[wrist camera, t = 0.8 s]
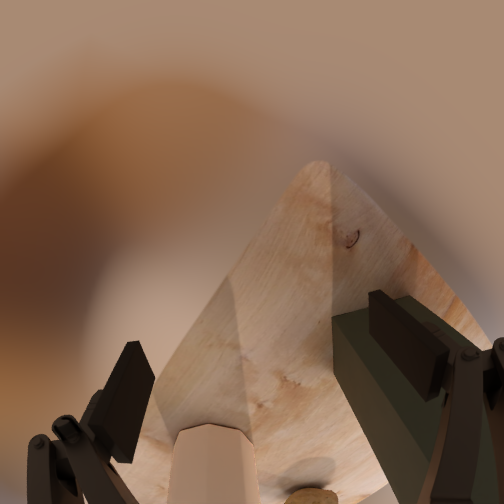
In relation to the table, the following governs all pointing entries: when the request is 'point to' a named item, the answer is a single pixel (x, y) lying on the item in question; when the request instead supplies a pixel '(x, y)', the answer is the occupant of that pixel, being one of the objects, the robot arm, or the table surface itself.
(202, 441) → the cup
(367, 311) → the stand
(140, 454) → the table surface
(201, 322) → the table surface
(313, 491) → the cut tuber
